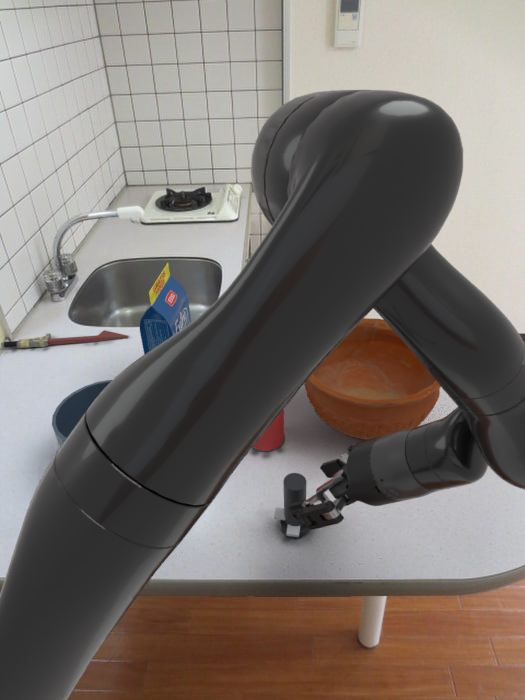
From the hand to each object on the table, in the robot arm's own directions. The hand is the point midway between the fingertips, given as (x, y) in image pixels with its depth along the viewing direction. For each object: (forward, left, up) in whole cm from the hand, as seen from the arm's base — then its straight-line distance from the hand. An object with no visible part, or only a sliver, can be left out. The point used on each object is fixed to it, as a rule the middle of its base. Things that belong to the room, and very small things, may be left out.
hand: (309, 491), depth 72 cm
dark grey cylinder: (0, +2, -9) cm, 10 cm away
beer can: (+14, +15, -10) cm, 23 cm away
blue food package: (+19, +39, -10) cm, 45 cm away
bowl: (+27, +1, -10) cm, 29 cm away
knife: (+21, +74, -10) cm, 77 cm away
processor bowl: (-2, +36, -9) cm, 38 cm away
